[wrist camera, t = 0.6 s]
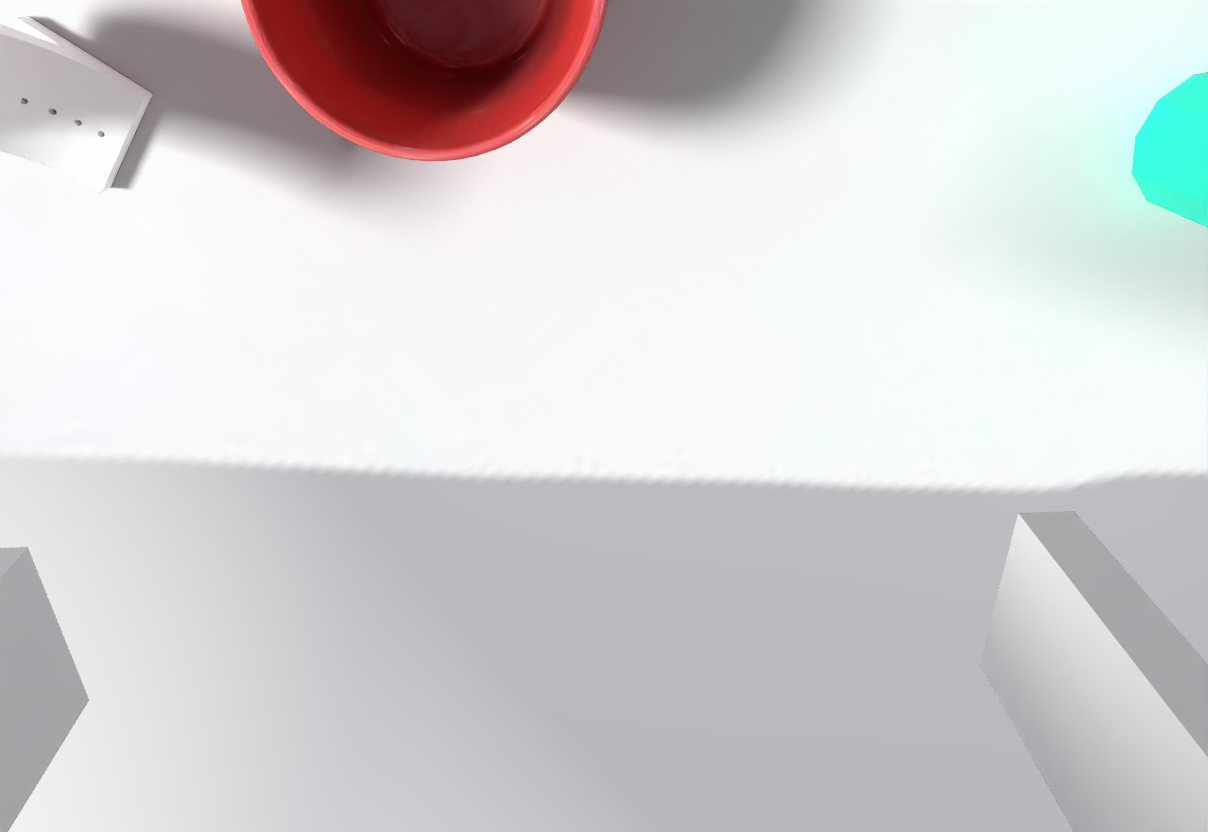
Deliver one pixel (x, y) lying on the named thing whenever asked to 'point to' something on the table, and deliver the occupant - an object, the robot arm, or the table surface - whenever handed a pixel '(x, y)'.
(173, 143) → the table surface
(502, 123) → the flower pot
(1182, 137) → the candle
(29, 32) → the headphone stand
